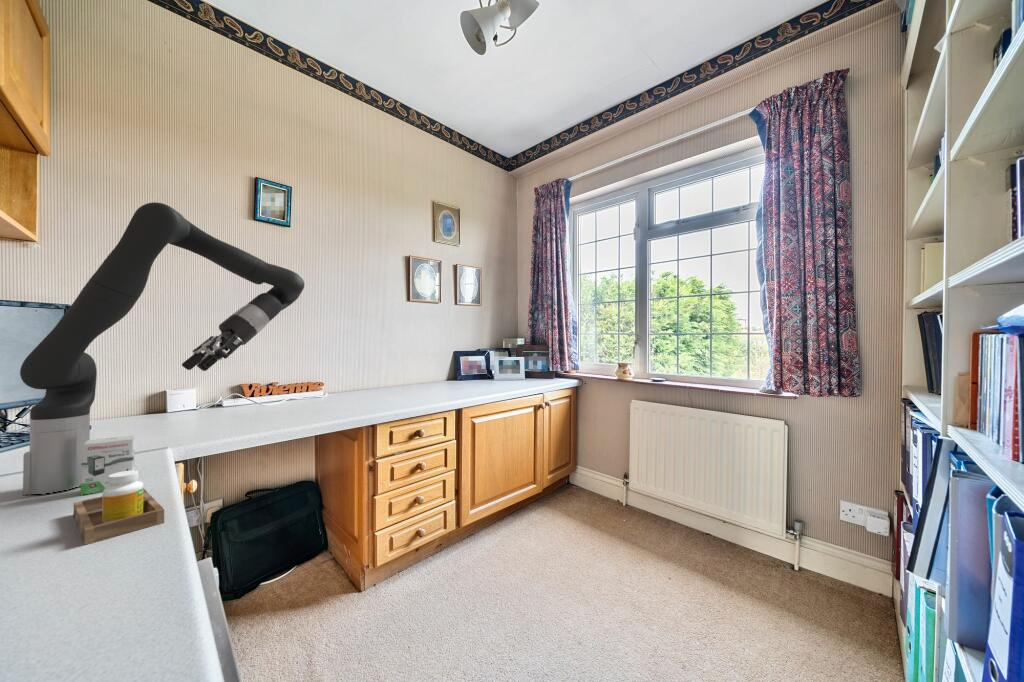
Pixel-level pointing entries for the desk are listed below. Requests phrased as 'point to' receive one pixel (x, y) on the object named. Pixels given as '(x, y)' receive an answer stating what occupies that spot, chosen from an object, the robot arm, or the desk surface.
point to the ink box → (105, 461)
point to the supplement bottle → (122, 496)
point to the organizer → (94, 530)
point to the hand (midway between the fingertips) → (192, 368)
